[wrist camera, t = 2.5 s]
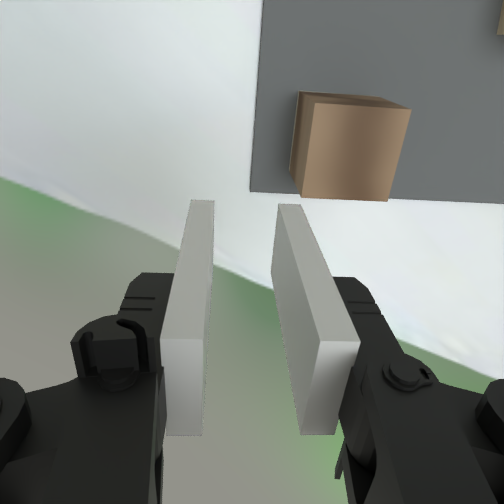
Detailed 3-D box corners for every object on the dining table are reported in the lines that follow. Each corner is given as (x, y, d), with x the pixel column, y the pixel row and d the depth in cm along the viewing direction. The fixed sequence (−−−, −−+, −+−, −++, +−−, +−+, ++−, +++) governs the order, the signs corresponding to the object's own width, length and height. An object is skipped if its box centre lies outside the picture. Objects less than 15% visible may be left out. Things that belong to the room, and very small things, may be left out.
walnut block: (288, 170, 30) (301, 197, 25) (298, 90, 28) (314, 102, 22) (360, 174, 31) (387, 201, 26) (377, 96, 28) (411, 109, 23)
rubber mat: (250, 190, 32) (250, 191, 31) (273, -138, 22) (274, -141, 21) (517, 202, 34) (520, 204, 33) (649, -92, 24) (655, -94, 23)
